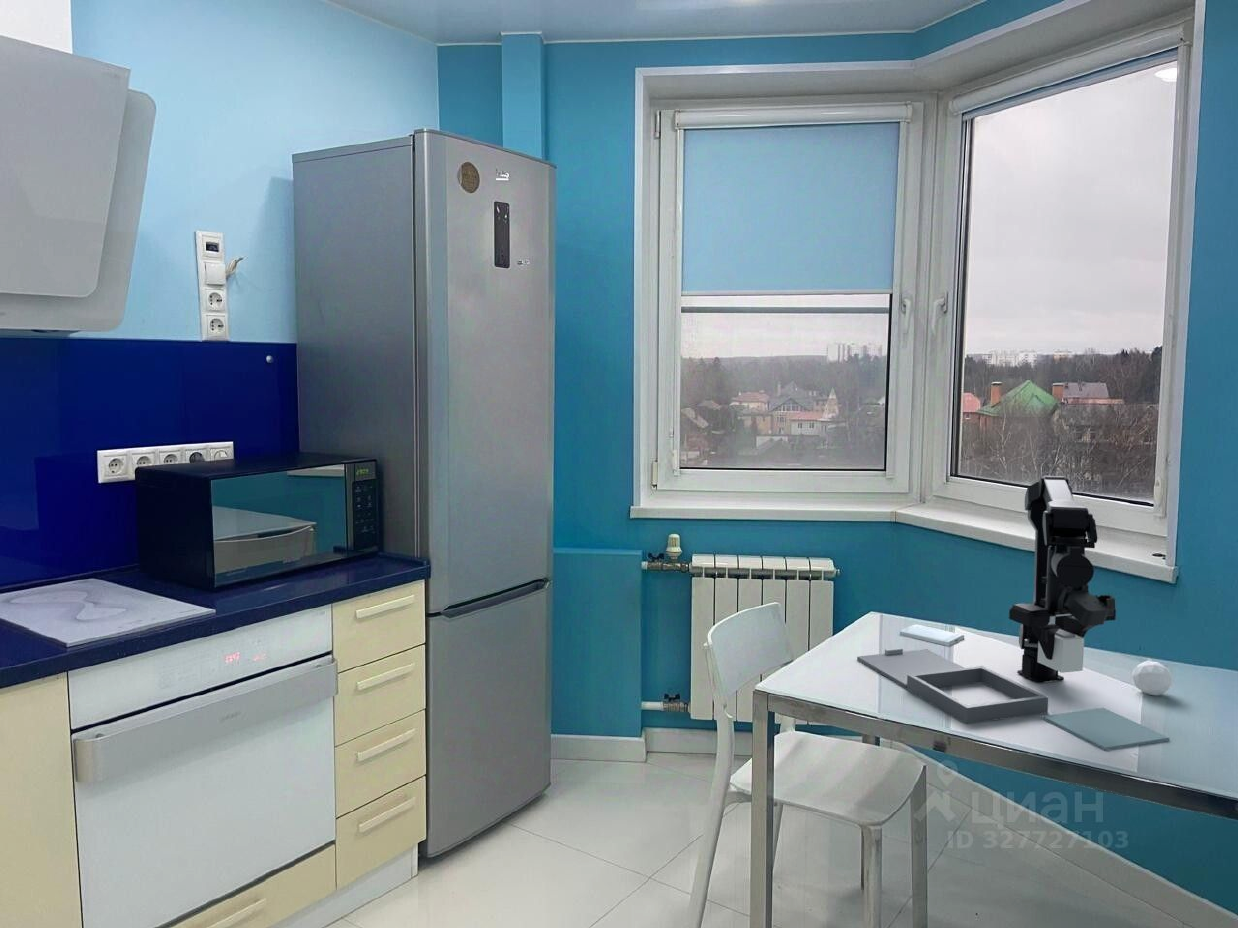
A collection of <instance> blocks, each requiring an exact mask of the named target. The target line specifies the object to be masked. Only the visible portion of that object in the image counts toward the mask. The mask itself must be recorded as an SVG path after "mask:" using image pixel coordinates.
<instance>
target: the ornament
mask: <svg viewBox="0 0 1238 928" xmlns="http://www.w3.org/2000/svg"><path fill="white" fill-rule="evenodd" d="M1132 680H1133V682H1134V685H1135V687H1136V688H1137V689H1139V690H1140V692H1142V693H1144V694H1145V695H1150V696H1151V695H1152V696H1160V695H1162V694H1165V693H1167V691H1168V690H1169V689H1170V687H1172V676H1171V673H1170V671H1169V669H1168V668H1167V667H1165V666H1164V665H1163V664H1162V663H1161V662H1159V661H1152V659H1151V658H1147V660H1146V661H1143V662H1142V663H1139V664H1137V665H1136V666H1135V667H1134V669H1133V670H1132Z"/></svg>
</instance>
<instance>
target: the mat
mask: <svg viewBox="0 0 1238 928" xmlns="http://www.w3.org/2000/svg"><path fill="white" fill-rule="evenodd" d="M1042 720H1044V721H1047V722H1048V723H1050V724H1053V725H1054V726H1056V727H1058V728H1060V729H1062V730H1064V731H1066V732H1068V733H1069V734H1072V735H1073V736H1076V737H1078V738H1079V739H1081V740H1084V741H1085V742H1088V743H1089V744H1091V745H1094V746H1095V747H1097V748H1099V749H1101V750H1103V751H1109V750H1115V749H1123V748H1128V747H1129V748H1130V747H1135V746H1141V745H1147V744H1154V743H1160V742H1161V743H1162V742H1167V741H1170V737H1169V736H1167V735H1165V734H1162V733H1161V732H1158V731H1156V730H1154V729H1151V728H1149V727H1147V726H1145V725H1142V724H1140V723H1139V722H1136V721H1134V720H1132V719H1130V718H1128V717H1125V716H1123V715H1120V714H1119V713H1116V712H1114V711H1113V710H1112V711H1111V710H1110V709H1107V708H1105V707H1098V708H1090V709H1084V710H1076V711H1068V712H1062V713H1061V712H1060V713H1054V714H1048V715H1042Z"/></svg>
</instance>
